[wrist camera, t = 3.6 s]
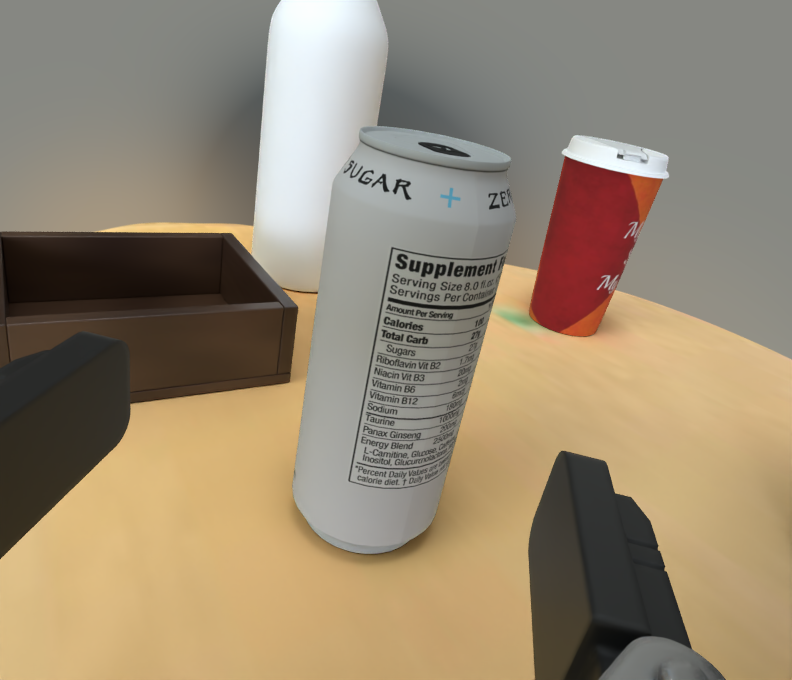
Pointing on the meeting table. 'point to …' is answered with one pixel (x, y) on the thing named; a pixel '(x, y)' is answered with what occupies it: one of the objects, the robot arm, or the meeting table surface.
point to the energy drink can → (398, 331)
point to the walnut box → (150, 306)
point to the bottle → (312, 125)
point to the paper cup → (593, 230)
